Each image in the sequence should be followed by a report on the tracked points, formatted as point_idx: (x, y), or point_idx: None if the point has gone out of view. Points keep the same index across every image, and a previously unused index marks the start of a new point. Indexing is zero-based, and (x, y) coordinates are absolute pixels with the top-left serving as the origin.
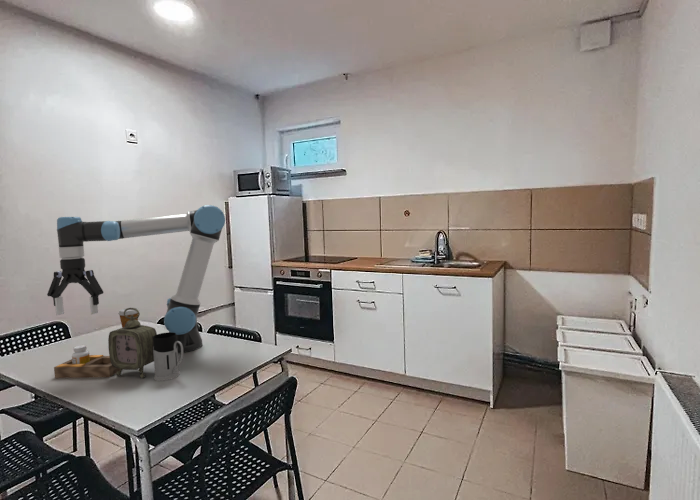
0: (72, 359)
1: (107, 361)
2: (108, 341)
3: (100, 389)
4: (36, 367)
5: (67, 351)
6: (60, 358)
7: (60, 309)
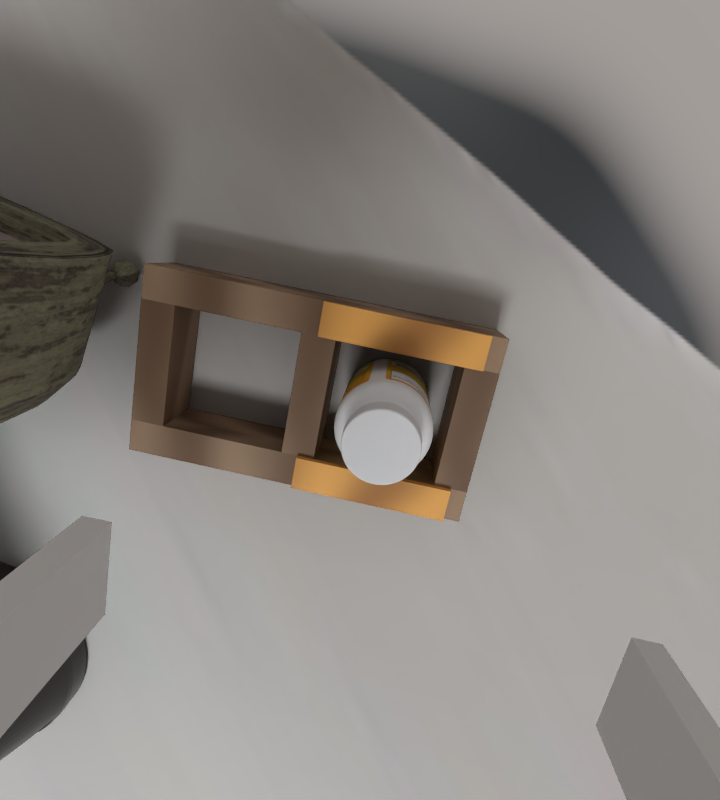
0: (419, 390)
1: (256, 436)
2: (10, 254)
3: (125, 74)
4: (702, 535)
5: None
6: None
7: (649, 750)
